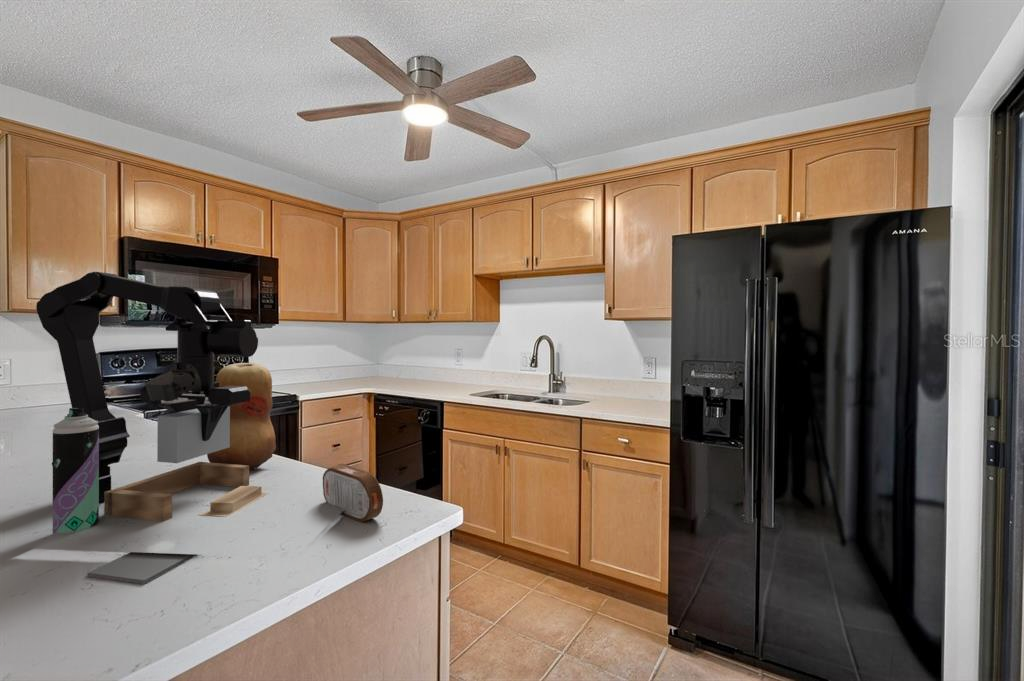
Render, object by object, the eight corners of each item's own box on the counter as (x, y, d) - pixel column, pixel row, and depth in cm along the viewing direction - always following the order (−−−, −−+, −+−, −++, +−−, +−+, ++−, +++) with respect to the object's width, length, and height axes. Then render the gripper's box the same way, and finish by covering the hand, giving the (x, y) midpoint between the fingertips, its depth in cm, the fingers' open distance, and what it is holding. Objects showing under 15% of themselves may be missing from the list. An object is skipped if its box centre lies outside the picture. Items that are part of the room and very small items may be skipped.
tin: (384, 523, 84) (384, 474, 83) (369, 528, 81) (369, 478, 81) (334, 503, 93) (334, 459, 92) (319, 507, 90) (319, 462, 90)
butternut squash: (221, 484, 102) (222, 366, 101) (197, 472, 110) (198, 362, 110) (286, 470, 112) (287, 363, 112) (260, 460, 121) (261, 360, 120)
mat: (87, 576, 64) (87, 572, 64) (194, 525, 81) (194, 522, 81) (144, 584, 62) (144, 580, 62) (241, 530, 79) (241, 527, 79)
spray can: (46, 542, 74) (46, 411, 73) (59, 529, 78) (59, 406, 78) (92, 535, 76) (93, 409, 76) (102, 523, 81) (103, 404, 81)
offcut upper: (210, 511, 84) (210, 502, 84) (240, 494, 93) (241, 485, 93) (232, 512, 84) (232, 503, 84) (261, 494, 93) (261, 486, 93)
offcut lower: (198, 525, 83) (198, 514, 83) (244, 500, 94) (244, 491, 94) (225, 526, 82) (225, 516, 82) (268, 502, 94) (268, 493, 94)
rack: (104, 521, 82) (104, 492, 82) (199, 485, 101) (199, 461, 101) (163, 527, 80) (163, 497, 80) (249, 489, 99) (249, 465, 99)
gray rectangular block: (157, 461, 84) (157, 416, 84) (212, 445, 96) (212, 405, 96) (177, 463, 83) (177, 417, 83) (229, 447, 95) (229, 406, 95)
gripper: (110, 356, 83) (110, 447, 83) (204, 359, 80) (204, 453, 80) (167, 354, 94) (167, 433, 94) (252, 356, 91) (252, 439, 91)
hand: (195, 440), depth 90 cm, fingers closed on gray rectangular block, 4 cm apart
